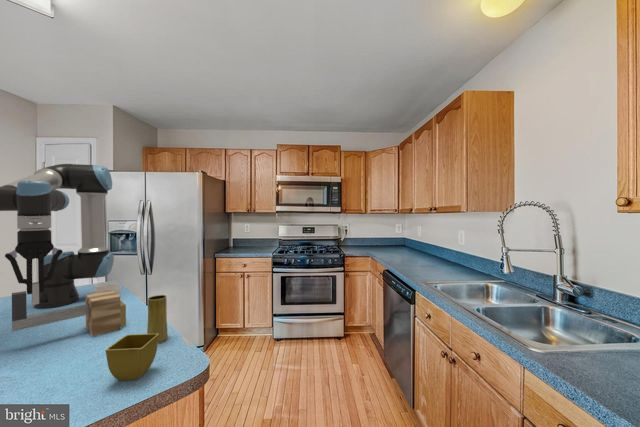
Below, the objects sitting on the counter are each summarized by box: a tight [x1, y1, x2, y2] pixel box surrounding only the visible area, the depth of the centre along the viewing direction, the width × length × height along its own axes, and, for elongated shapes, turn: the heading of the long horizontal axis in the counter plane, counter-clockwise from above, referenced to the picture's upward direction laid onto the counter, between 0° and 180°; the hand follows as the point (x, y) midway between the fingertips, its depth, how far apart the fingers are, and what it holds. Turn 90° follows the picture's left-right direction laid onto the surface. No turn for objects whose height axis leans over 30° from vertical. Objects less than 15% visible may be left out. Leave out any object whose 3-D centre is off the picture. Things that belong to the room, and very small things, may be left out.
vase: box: [146, 294, 169, 344], centre depth 91 cm, size 6×6×14 cm
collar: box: [120, 300, 127, 328], centre depth 104 cm, size 7×2×8 cm, turn 49°
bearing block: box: [85, 290, 122, 338], centre depth 100 cm, size 12×8×12 cm, turn 48°
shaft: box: [11, 290, 90, 332], centre depth 93 cm, size 3×25×11 cm, turn 139°
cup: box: [93, 280, 122, 297], centre depth 117 cm, size 9×9×12 cm
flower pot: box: [105, 333, 159, 382], centre depth 72 cm, size 9×9×9 cm
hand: (35, 303), depth 88 cm, fingers closed
